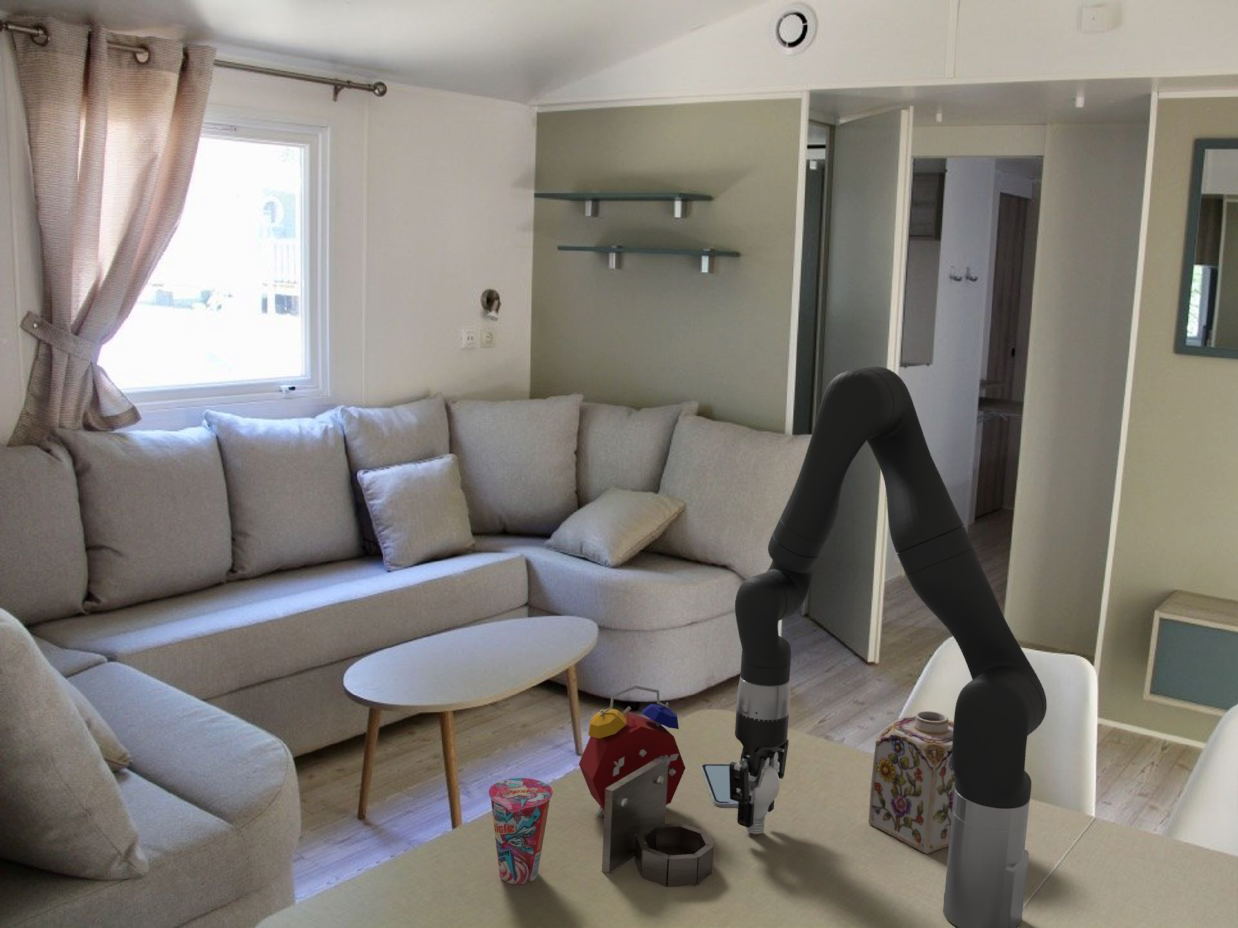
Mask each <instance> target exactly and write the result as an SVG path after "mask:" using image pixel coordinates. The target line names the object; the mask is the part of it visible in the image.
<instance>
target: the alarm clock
mask: <svg viewBox="0 0 1238 928" xmlns="http://www.w3.org/2000/svg"><path fill="white" fill-rule="evenodd" d="M635 689H637V690H642V691H646V692H651V693H656V704H654V703H650V704H649V705H648V706H646V707H645V708H643V709H641V712H642V715H643V716H642V715H639V714H636V713H632V712H630V711H631V710H632V708H631V706H627V707H626V708H625V709H624V710H623V711H622V712H621V711H620V710H618V709H615V708H613V706H614V701H615V700H614V698H615V697H618V696H620V695H623V694H625V693H628V692H630V691H633V690H635ZM678 719H679V718H678V715H677V714H676V713H675V712H674V711H673V710H671V709H670V707H669V702H666V703H665V704H664V703H662V702H661V701H660V690H659V689H656V688H655V689H654V688H649V687H645V686H639V685H634V686H631V687H629V688H626V689H623V690H620V691H619V692H616V693H614V694H611V695H610V704H609V707H608V708H606V709H603V708H602V709H600V711H598V712H596V713H595V714H594V715H593V716H592V717H591V718H590V719H589V723H588V724H589V725H588V731H587V732H588V733H587V734H588V737H589V739H588V741H587V744H586V746H585V749H584V750H583V753H582V755H581V758H580V760H579V762H578V766H579V768H580V771H581V773H582V775H583V776H582V777H583V778H584V780H585V783H586V785H587V788H588V790H589V793H590V796H591V797H592V798H593V799H594V800H595V802H596V803H597V804H598V805H599V809H598V812H597V814H596V816H597V818H598V817H599V818H601V817H603V816H604V807H605V788H607V787H609V786H610V785H612V784H614V783H615V782H617V781H619V780H621V779H622V778H624V777H626V776H627V775H629V774H631V773H633V772H634V771H636V770H638V769H639V768H641V767H643V766H644V765H646V764H648V763H650V762H651V761H653V760H655V759H656V758H658V757H660V756H664V757H668V778H667V797H666V806H667V805H670V804H671V803H672V800H673V798H674V796H675V794H676V791H677V789H678V786H679V784H680V782H681V780H682V777H683V775H684V773H685V771H686V766H685V763H684V759H683V758H682V755H681V753H680V750H679V747H678V744H677V740H676V739H675V736H674V735H673V734H672V733H671V732H670V731H669V730H668V729H669V728H670V729H674V730H679V728H680V727H679V720H678ZM665 727H666V728H668V729H666V728H665Z"/></svg>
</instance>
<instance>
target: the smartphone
mask: <svg viewBox="0 0 1238 928" xmlns="http://www.w3.org/2000/svg"><path fill="white" fill-rule="evenodd" d="M729 766H730V763H703V764H701V765H700V770H701V772H702V776H703V778H704V781H705V784H706V786H707V787H706V788H707V790H708V793H709V795H710V798H711V801H712V804H713V805H714V806H716V807H719V808H738V802H737V801H734V800H731V799H730V778H729Z"/></svg>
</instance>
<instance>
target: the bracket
mask: <svg viewBox="0 0 1238 928" xmlns="http://www.w3.org/2000/svg"><path fill="white" fill-rule="evenodd" d="M667 778H668V757H664V756H660V757H658V758H656V759H655V760H653V761H651V762H650V763H648V764H646V765H644V766H643V767H641V768H639V769H638V770H636V771H634V772H633V773H631V774H629V775H627V776H626V777H624V778H622V779H621V780H619V781H617V782H615V783H614V784H612V785H610V786H609V787H607V788H605V807H604V814H603V834H602V837H603V838H602V859H601V872H603V873H604V874H605V873H606V874H608V875H610V874H612V873H613V872H615V871H616V870H617V869H619V868H620V867H622V866H623V865H625V864H626V863H627V862H629V861H631V860H632V859H633V858H634V863H635V866H636V869H637V871H638V874H639V876H640V878H641V879H645V880H647V881H650V882H652V883H655V884H657V885H660V886H663V887H665V888H666V887H667V888H675V887H690V886H691V887H692V886H693V887H694V886H698V885H700V884H701V883H703V881H705V880H706V879H708V877H710V876H711V875H712V874H713V870H714V869H713V868H714V866H713V864H714V852H715V850H714V849H715V845H714V843H713V841H712V840H711V837H710V836H709V834H708V832H707V831H706V830H702V829H700V828H697V827H695V826H691V825H688V824H685V823H682V822H675V823H674V822H673V823H672V822H671V823H666V818H667V817H666V815H667V814H666V812H667V805H666V797H667Z"/></svg>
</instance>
